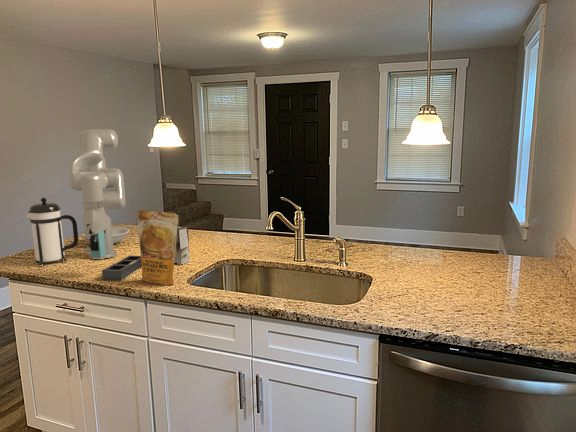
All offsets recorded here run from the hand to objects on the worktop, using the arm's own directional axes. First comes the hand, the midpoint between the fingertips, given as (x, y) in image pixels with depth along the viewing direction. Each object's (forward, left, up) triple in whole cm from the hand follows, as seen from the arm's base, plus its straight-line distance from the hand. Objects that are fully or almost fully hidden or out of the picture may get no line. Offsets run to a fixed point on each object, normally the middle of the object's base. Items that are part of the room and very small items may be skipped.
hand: (98, 248), depth 183 cm
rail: (+8, +5, -11) cm, 15 cm away
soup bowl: (-27, +51, -12) cm, 59 cm away
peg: (0, 0, -3) cm, 3 cm away
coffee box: (+25, +21, -12) cm, 35 cm away
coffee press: (-34, +17, -12) cm, 40 cm away
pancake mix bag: (+28, -5, -12) cm, 31 cm away
